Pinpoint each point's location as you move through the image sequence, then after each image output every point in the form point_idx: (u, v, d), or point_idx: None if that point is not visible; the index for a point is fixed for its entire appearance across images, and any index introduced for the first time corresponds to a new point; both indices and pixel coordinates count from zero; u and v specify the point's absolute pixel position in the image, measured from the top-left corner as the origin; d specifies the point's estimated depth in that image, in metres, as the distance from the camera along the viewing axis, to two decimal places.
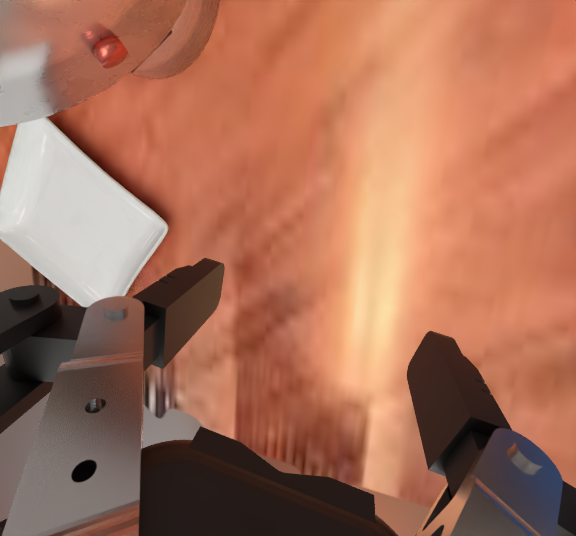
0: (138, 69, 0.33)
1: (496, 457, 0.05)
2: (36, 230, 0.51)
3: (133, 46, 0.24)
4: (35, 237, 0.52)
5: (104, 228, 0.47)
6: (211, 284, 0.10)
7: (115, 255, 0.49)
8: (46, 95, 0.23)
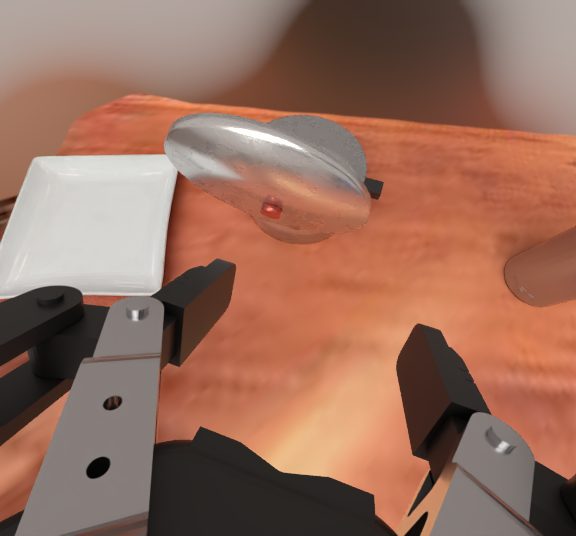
0: None
1: (474, 441, 0.06)
2: (62, 189, 0.51)
3: None
4: (53, 191, 0.51)
5: (110, 242, 0.47)
6: (224, 284, 0.10)
7: (87, 264, 0.46)
8: (218, 186, 0.31)
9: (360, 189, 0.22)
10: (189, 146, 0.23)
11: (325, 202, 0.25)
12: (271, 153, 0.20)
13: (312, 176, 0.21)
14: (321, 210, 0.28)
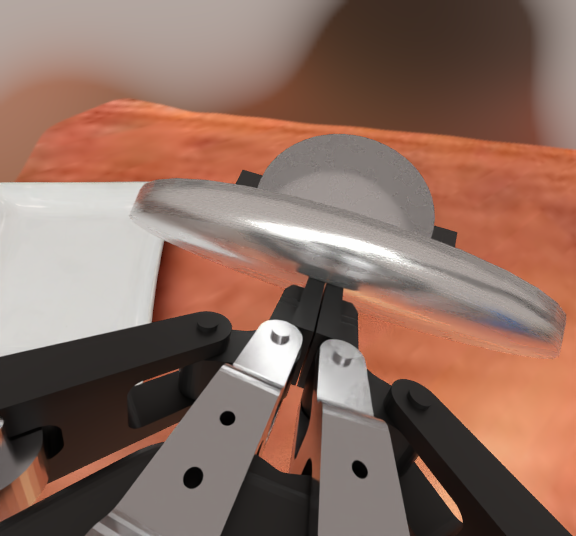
0: None
1: (327, 369, 0.06)
2: (21, 226, 0.39)
3: None
4: (8, 228, 0.39)
5: (80, 302, 0.35)
6: None
7: (47, 333, 0.34)
8: (229, 264, 0.19)
9: None
10: (179, 232, 0.11)
11: (439, 327, 0.13)
12: (389, 288, 0.07)
13: (465, 323, 0.09)
14: (413, 323, 0.16)
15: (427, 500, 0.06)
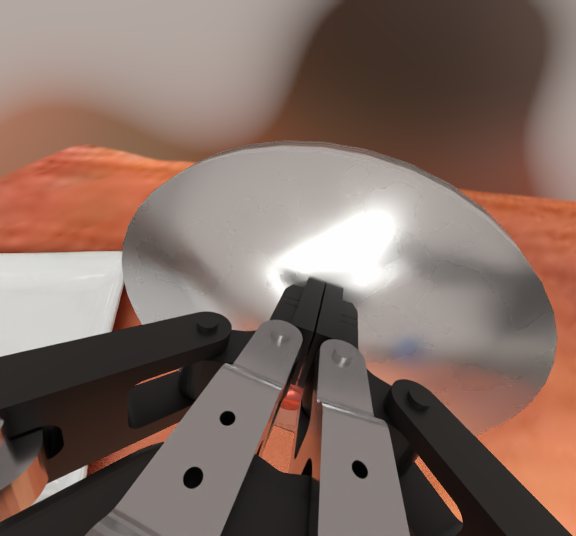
0: None
1: (327, 369, 0.06)
2: None
3: None
4: None
5: None
6: None
7: None
8: None
9: None
10: (189, 221, 0.11)
11: (437, 370, 0.12)
12: (402, 222, 0.09)
13: (467, 293, 0.10)
14: None
15: (427, 500, 0.06)
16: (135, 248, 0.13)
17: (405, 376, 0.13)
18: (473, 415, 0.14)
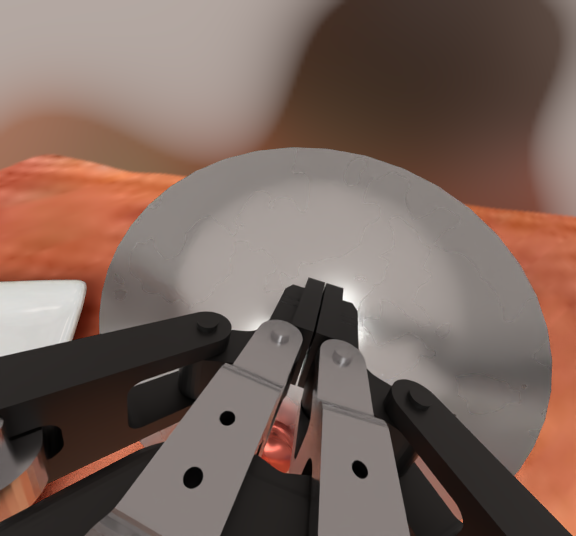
0: None
1: (327, 369, 0.06)
2: None
3: None
4: None
5: None
6: None
7: None
8: None
9: None
10: (198, 217, 0.12)
11: (443, 388, 0.12)
12: (396, 210, 0.10)
13: (458, 280, 0.10)
14: None
15: (427, 500, 0.06)
16: (129, 252, 0.13)
17: None
18: None
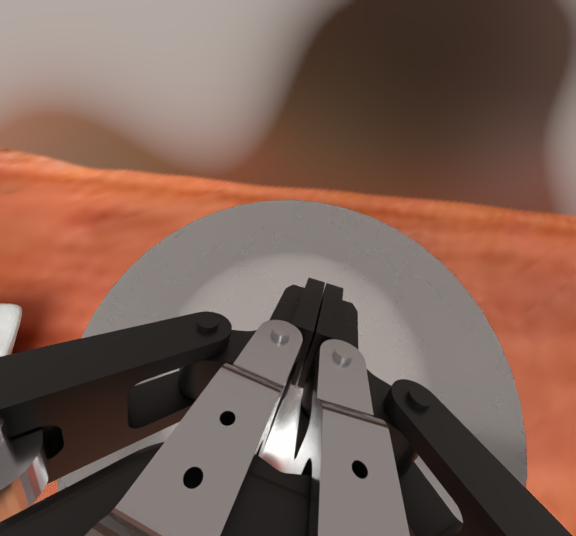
0: None
1: (327, 369, 0.06)
2: None
3: None
4: None
5: None
6: None
7: None
8: None
9: None
10: (211, 246, 0.14)
11: None
12: (370, 244, 0.14)
13: (423, 299, 0.13)
14: None
15: (427, 500, 0.06)
16: (137, 275, 0.14)
17: None
18: None
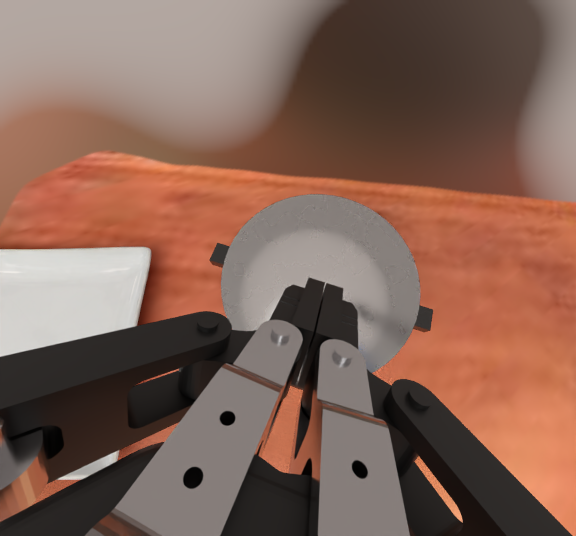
0: None
1: (327, 369, 0.06)
2: None
3: None
4: None
5: None
6: None
7: None
8: (258, 274, 0.29)
9: None
10: (286, 211, 0.32)
11: (381, 273, 0.29)
12: (355, 212, 0.32)
13: (378, 233, 0.31)
14: (374, 293, 0.28)
15: (427, 500, 0.06)
16: (253, 222, 0.31)
17: (370, 280, 0.29)
18: (406, 303, 0.28)
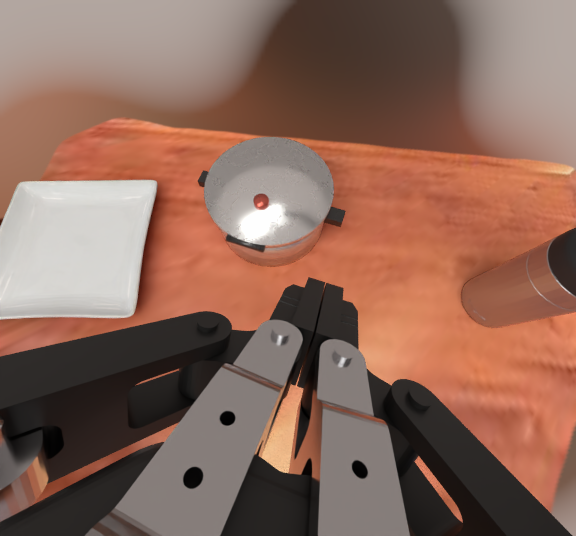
0: None
1: (327, 369, 0.06)
2: (46, 213, 0.54)
3: (256, 222, 0.42)
4: (37, 214, 0.53)
5: (90, 264, 0.50)
6: None
7: (67, 285, 0.48)
8: (228, 184, 0.44)
9: None
10: (249, 147, 0.47)
11: (309, 184, 0.44)
12: (296, 148, 0.47)
13: (310, 160, 0.46)
14: (303, 196, 0.44)
15: (427, 500, 0.06)
16: (227, 154, 0.47)
17: (302, 188, 0.44)
18: (323, 201, 0.43)
